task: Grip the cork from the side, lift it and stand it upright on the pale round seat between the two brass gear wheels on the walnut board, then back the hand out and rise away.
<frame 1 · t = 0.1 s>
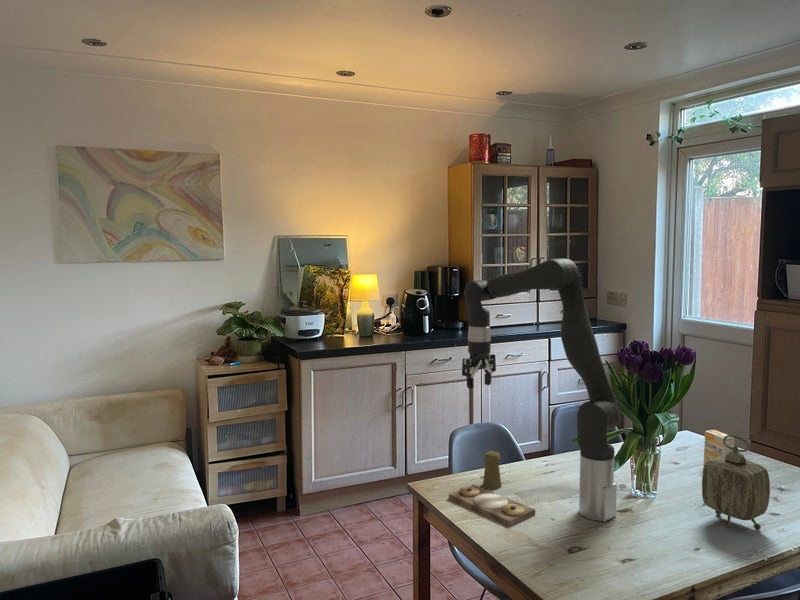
hand: (479, 386, 202), 29 cm above the table, tool pointing down, fingers open, 8 cm apart
cork: (492, 486, 191), on the table
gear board: (490, 506, 176), on the table
supplement box: (717, 471, 202), on the table
tabletop clock: (731, 525, 163), on the table
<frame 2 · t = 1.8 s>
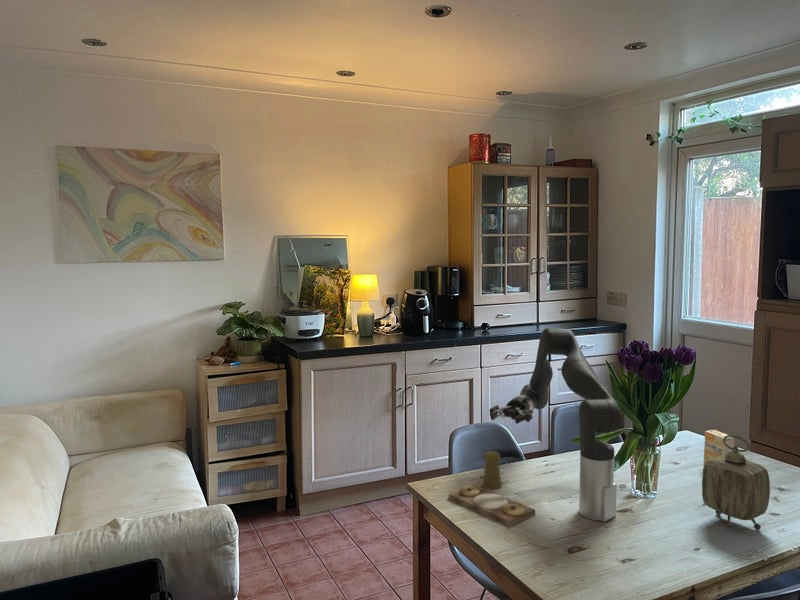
hand: (504, 418, 199), 19 cm above the table, tool horizontal, fingers open, 8 cm apart
nothing on the table moved.
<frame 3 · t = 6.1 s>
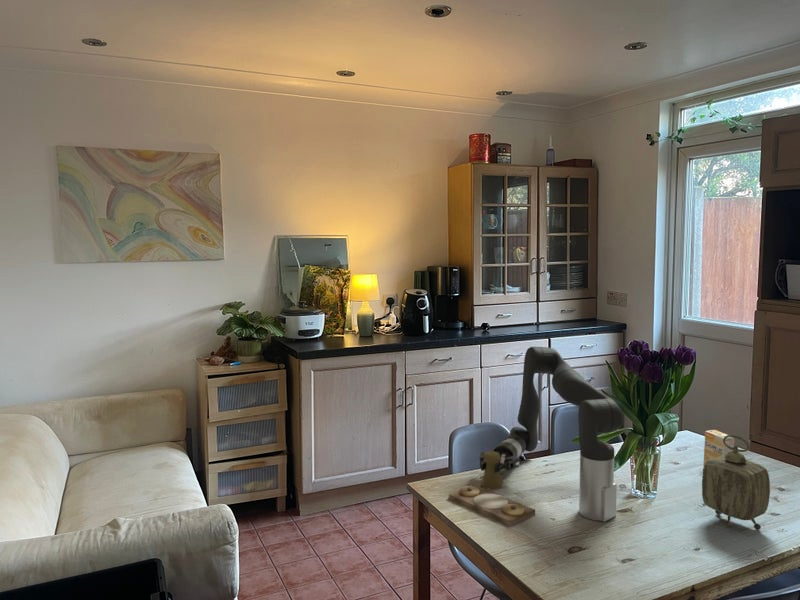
hand: (489, 468, 188), 7 cm above the table, tool horizontal, fingers closed on cork, 4 cm apart
cork: (492, 486, 191), on the table, touching gripper
everything else where it was.
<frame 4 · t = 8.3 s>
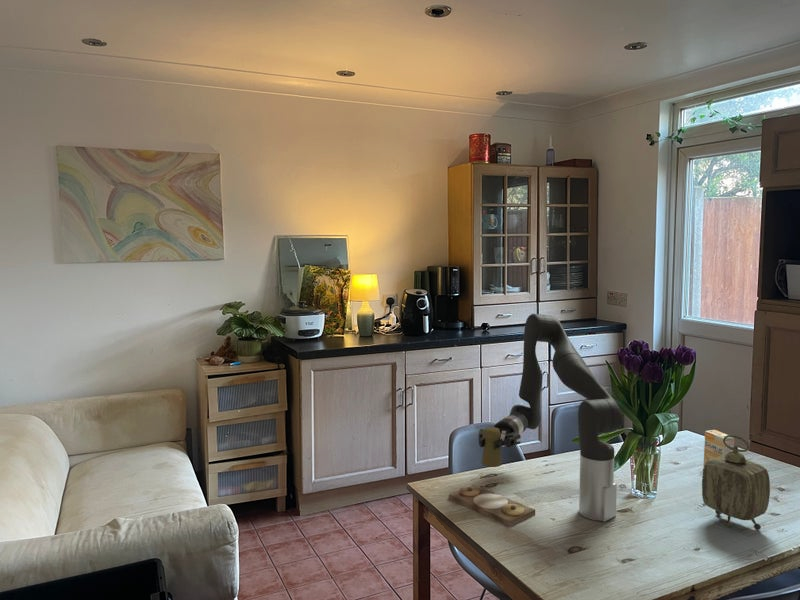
hand: (488, 445, 177), 18 cm above the table, tool horizontal, fingers closed on cork, 4 cm apart
cork: (491, 464, 180), point 11 cm above the table, touching gripper
everything else where it was.
when the fingers open (8 cm above the table, at t = 10.9 s): cork stays where it is, resting on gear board.
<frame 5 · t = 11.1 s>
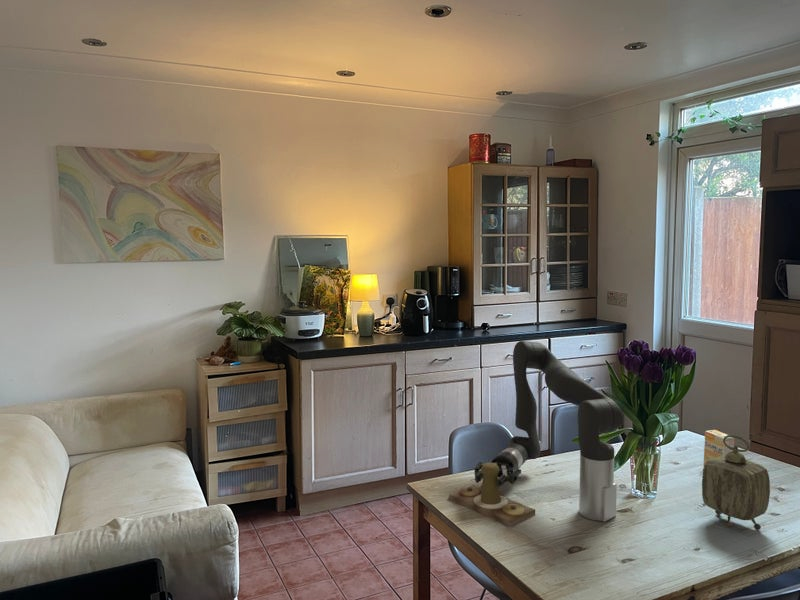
hand: (487, 481, 173), 9 cm above the table, tool horizontal, fingers open, 6 cm apart
cork: (490, 500, 175), point 2 cm above the table, touching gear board
everything else where it was.
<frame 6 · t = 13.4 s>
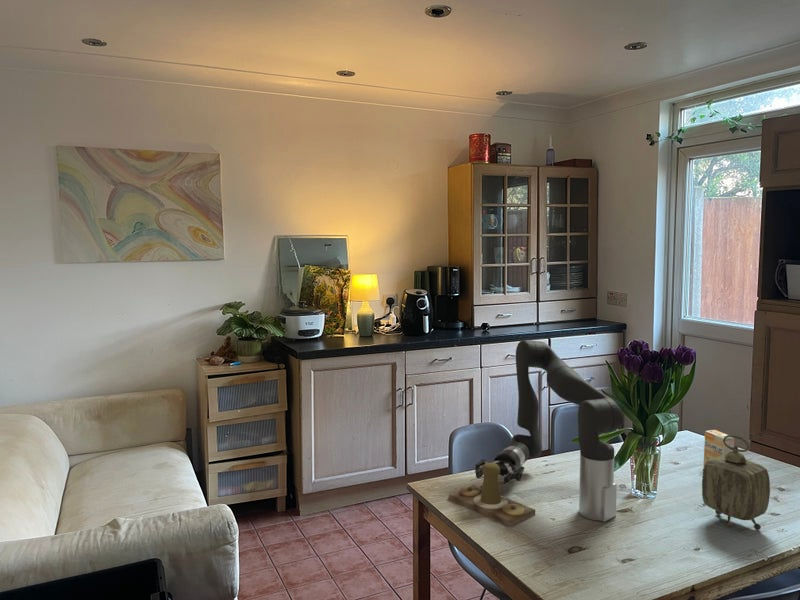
hand: (491, 478, 175), 9 cm above the table, tool horizontal, fingers open, 8 cm apart
nothing on the table moved.
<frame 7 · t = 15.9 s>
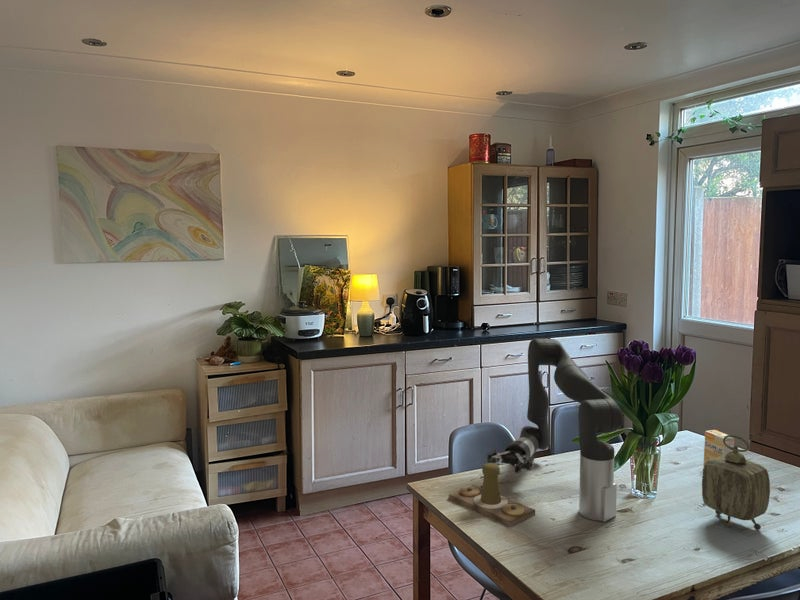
hand: (502, 467, 183), 9 cm above the table, tool horizontal, fingers open, 8 cm apart
nothing on the table moved.
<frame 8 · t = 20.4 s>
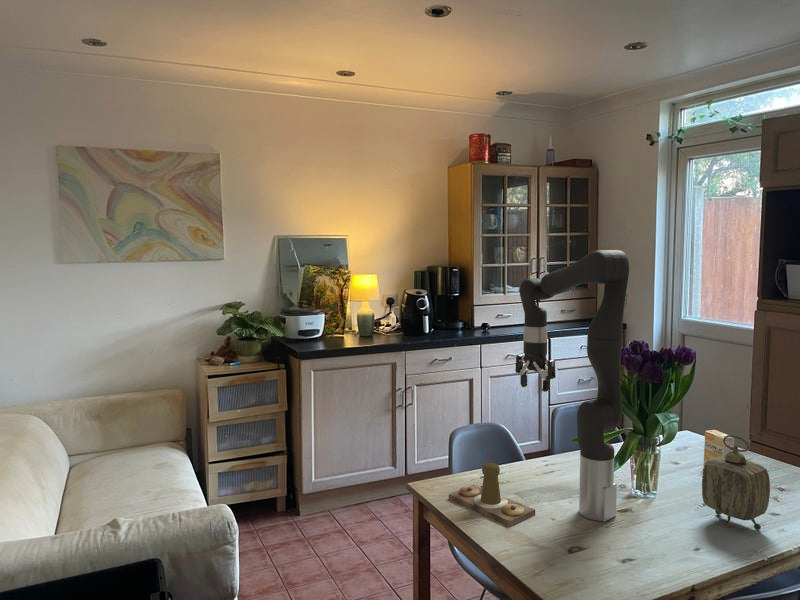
hand: (534, 388, 194), 30 cm above the table, tool pointing down, fingers open, 8 cm apart
nothing on the table moved.
at the end: cork 0.1 cm off-centre on the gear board, point 1.6 cm above the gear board's base; cork tilted 0°; the gripper is holding nothing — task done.
